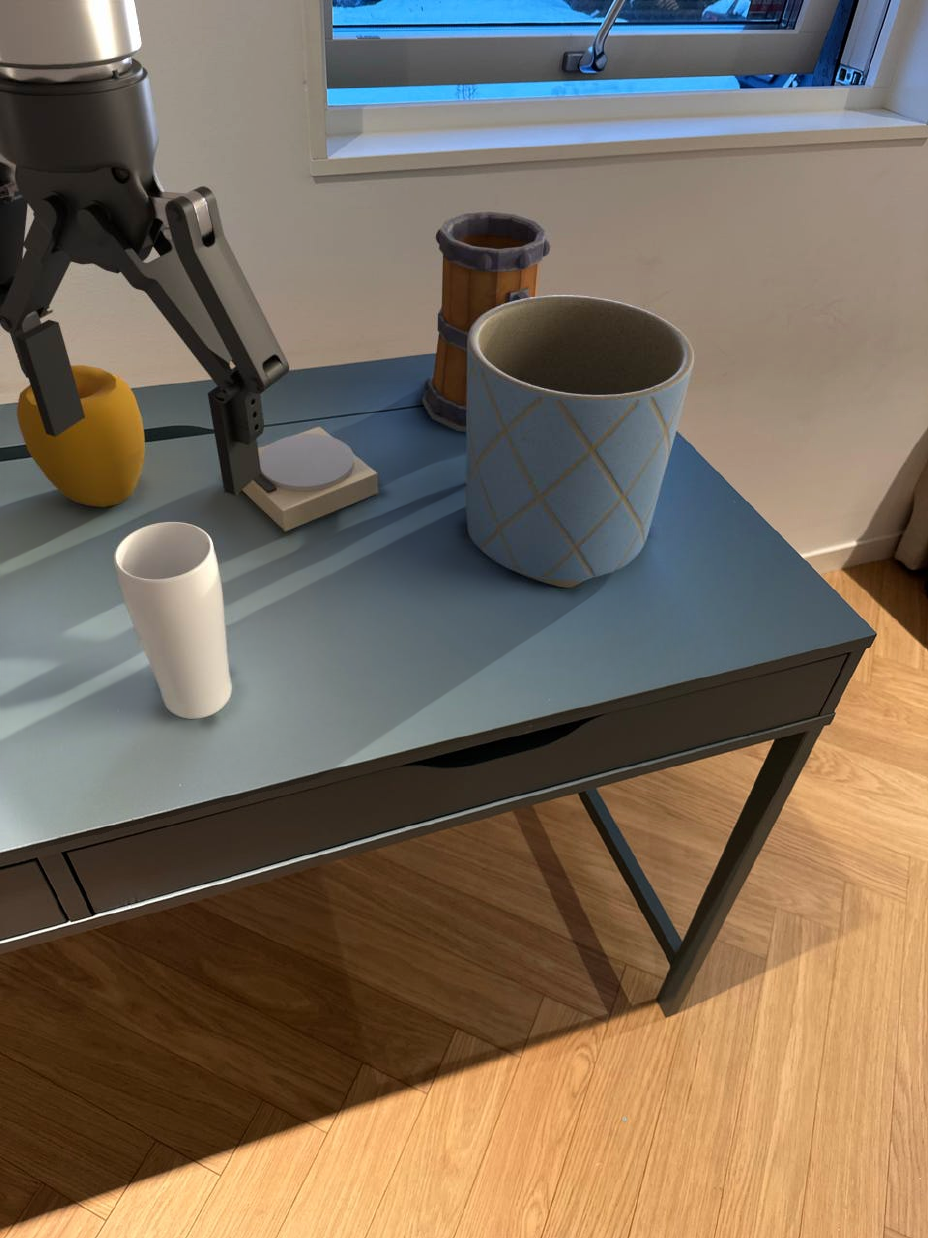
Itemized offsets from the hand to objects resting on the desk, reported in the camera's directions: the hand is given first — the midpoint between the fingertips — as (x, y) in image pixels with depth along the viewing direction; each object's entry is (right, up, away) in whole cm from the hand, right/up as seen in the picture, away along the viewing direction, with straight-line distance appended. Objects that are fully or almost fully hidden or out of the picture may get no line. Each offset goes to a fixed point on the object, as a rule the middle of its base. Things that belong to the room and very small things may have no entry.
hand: (151, 453), depth 56 cm
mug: (+23, +14, +50) cm, 57 cm away
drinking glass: (-2, -17, +16) cm, 23 cm away
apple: (-17, +2, +35) cm, 39 cm away
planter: (+29, -2, +34) cm, 44 cm away
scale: (+3, +3, +37) cm, 38 cm away
